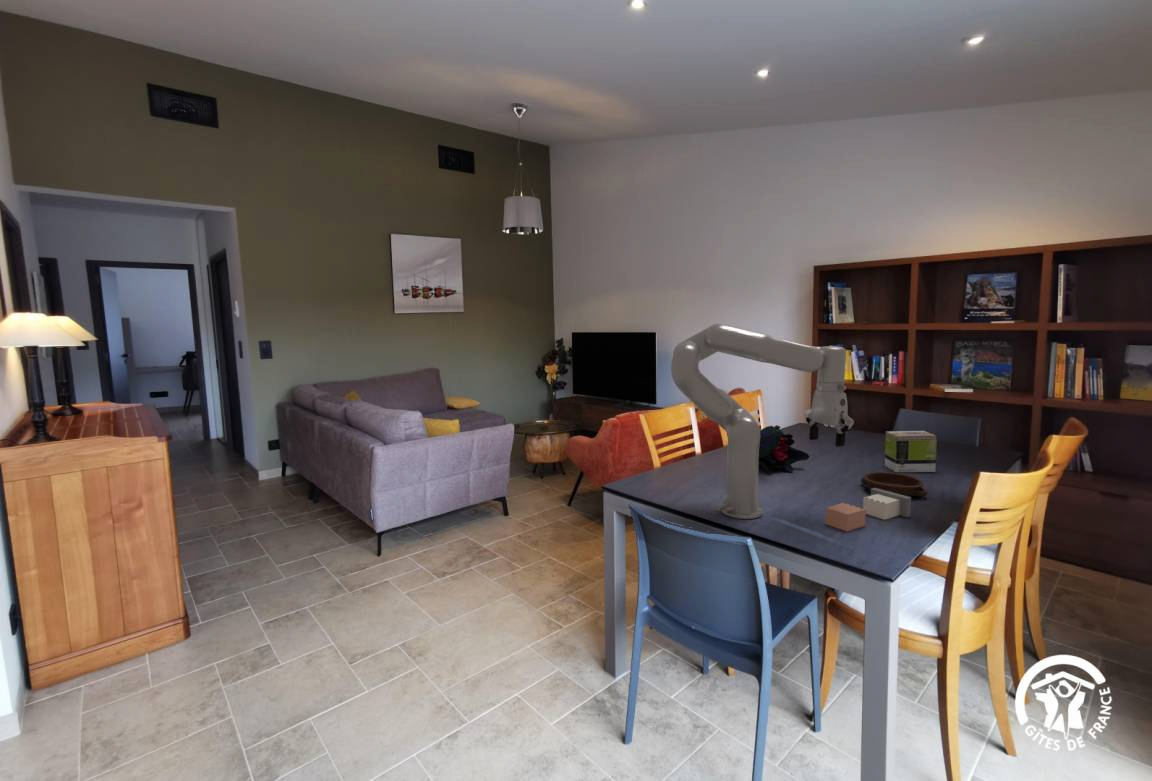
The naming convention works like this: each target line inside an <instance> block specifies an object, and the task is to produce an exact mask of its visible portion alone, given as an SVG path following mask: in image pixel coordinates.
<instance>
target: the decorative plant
mask: <svg viewBox="0 0 1152 781" xmlns="http://www.w3.org/2000/svg"><path fill="white" fill-rule="evenodd" d="M793 437H794V435H792V434H790V433H787V434H785V433H784V432H783V431H782V430H781V426H780V425H777V424H776V425H774V426H773V425H768V426H765V427H763V428H762V429H760V445H759V461H758V465H759V466H761V467H763V469H765V471H767V473H768V474H769V473H772V474H773V473H774V468H776V469H780V470H783V471H785V472H788V473H790V472H791V473H793V471H794V468H793V466H792V464H794V463H797V462H803V461H807V460H809V458H810V455H809V453H807V452H806V451H803V450H799V449H797V448H795V447H792V445H794V443H795V440H794V439H793Z"/></svg>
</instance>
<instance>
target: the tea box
mask: <svg viewBox="0 0 1152 781" xmlns="http://www.w3.org/2000/svg"><path fill="white" fill-rule="evenodd" d="M937 438H938V435H937V434H936V435H935V434H934V433H931V432H928V431H926V430H895V431H894V430H891V431H888V430H886V431H885V441H884V443H885V447H884V467H886V468H887V467H888V468H887V469H889V470H891V471H892V470H893V471H892V472H893V473H936V470H937V468H936V466H937V442H938V441H937Z"/></svg>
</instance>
